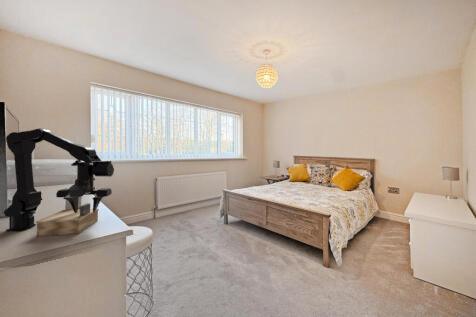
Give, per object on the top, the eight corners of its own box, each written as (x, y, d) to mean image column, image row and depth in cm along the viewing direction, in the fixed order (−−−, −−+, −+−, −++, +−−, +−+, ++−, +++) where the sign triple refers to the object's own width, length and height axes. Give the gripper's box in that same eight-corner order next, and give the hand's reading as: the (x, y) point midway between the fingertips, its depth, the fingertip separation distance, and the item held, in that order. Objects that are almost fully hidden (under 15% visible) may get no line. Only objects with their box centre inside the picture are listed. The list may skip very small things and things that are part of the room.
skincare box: (64, 221, 95) (64, 195, 95) (66, 219, 99) (66, 194, 98) (81, 219, 98) (81, 194, 98) (82, 217, 102) (82, 192, 102)
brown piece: (36, 236, 78) (36, 223, 78) (63, 222, 94) (63, 211, 94) (78, 234, 81) (78, 221, 81) (97, 221, 97) (97, 210, 97)
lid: (36, 222, 78) (36, 210, 78) (63, 211, 94) (63, 201, 94) (78, 221, 81) (79, 209, 81) (98, 210, 97) (98, 200, 97)
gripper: (46, 178, 79) (46, 219, 79) (101, 178, 82) (100, 217, 83) (65, 175, 89) (64, 211, 90) (112, 175, 93) (111, 210, 93)
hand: (85, 212), depth 89 cm, fingers open, 7 cm apart
